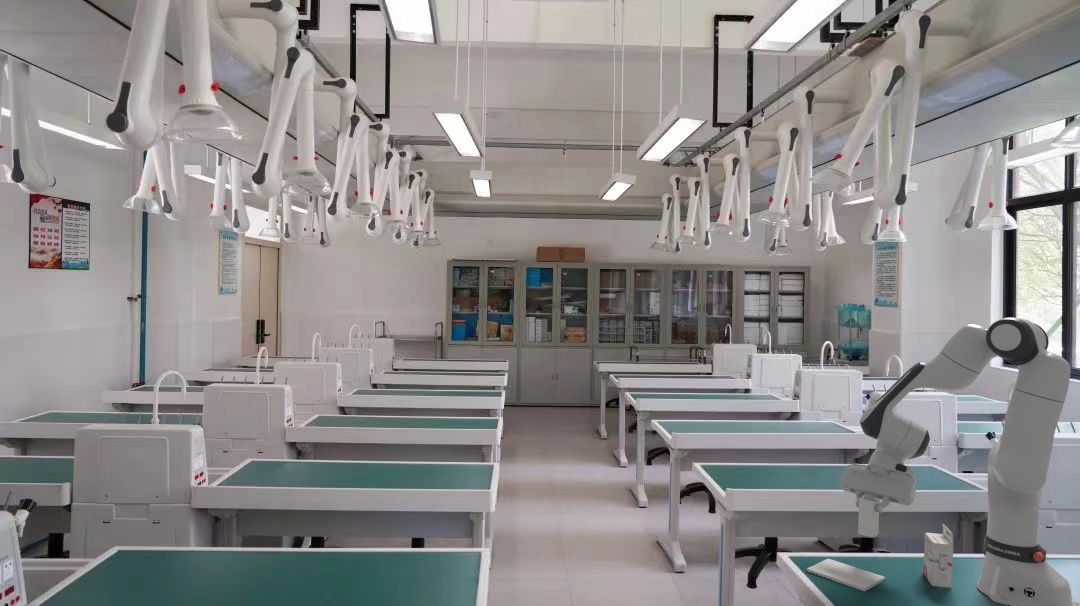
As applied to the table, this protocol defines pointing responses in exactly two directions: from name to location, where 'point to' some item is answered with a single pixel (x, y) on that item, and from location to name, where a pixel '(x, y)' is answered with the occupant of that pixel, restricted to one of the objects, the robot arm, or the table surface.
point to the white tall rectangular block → (868, 516)
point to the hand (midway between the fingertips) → (867, 508)
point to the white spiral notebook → (846, 574)
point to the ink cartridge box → (938, 558)
